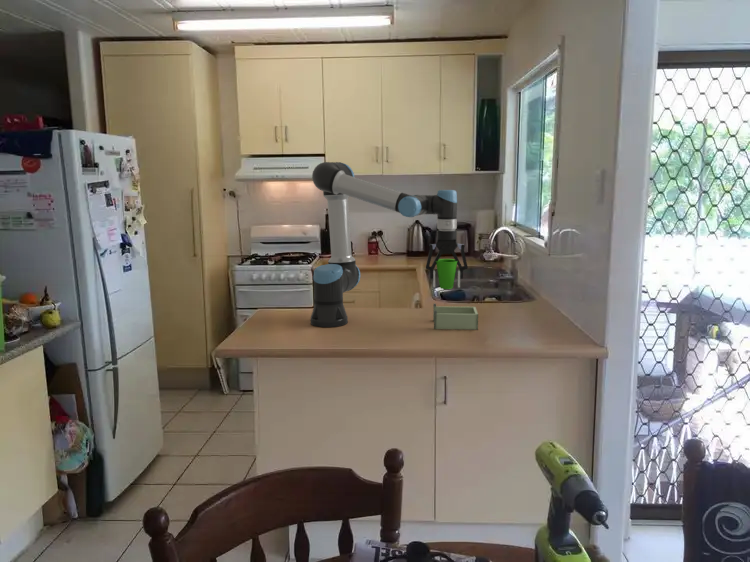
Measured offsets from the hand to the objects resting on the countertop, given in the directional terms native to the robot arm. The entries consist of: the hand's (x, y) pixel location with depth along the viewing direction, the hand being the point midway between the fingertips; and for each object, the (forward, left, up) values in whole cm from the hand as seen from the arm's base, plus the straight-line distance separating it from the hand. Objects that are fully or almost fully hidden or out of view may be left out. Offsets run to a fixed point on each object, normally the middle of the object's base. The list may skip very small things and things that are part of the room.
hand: (446, 286), depth 233 cm
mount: (+4, 0, -16) cm, 16 cm away
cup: (0, 0, -1) cm, 1 cm away
